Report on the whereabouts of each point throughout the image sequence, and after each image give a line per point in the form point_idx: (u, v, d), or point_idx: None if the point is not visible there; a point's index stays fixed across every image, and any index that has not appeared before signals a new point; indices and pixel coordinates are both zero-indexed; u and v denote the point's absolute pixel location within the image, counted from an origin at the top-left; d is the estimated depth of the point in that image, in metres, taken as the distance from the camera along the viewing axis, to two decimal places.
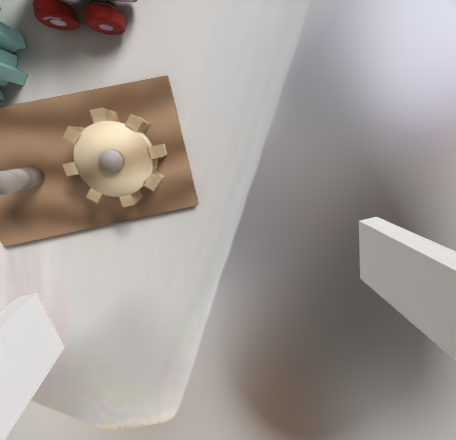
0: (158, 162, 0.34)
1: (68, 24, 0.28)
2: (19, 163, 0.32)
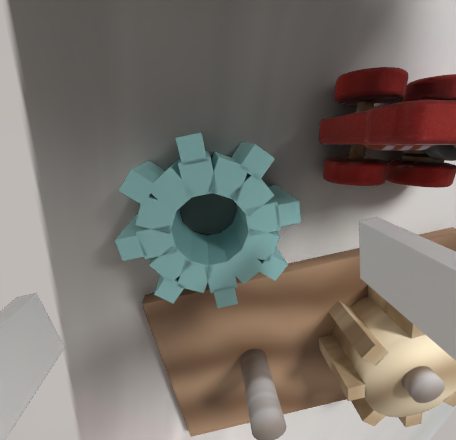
0: None
1: None
2: (237, 346, 0.23)
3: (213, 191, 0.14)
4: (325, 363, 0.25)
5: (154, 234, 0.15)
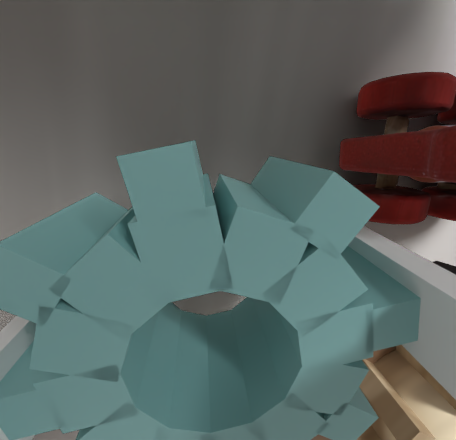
0: None
1: None
2: None
3: (222, 287, 0.06)
4: None
5: (79, 384, 0.06)
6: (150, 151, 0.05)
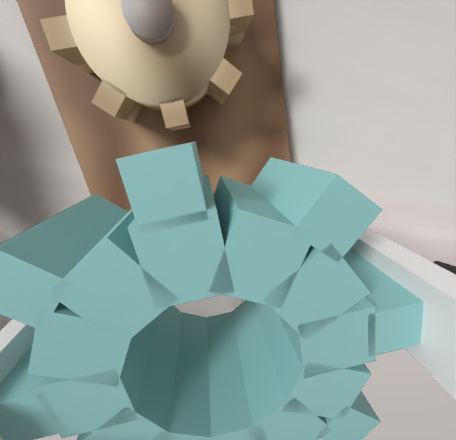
0: None
1: None
2: None
3: (223, 290, 0.06)
4: (214, 116, 0.20)
5: (79, 389, 0.06)
6: (150, 153, 0.05)
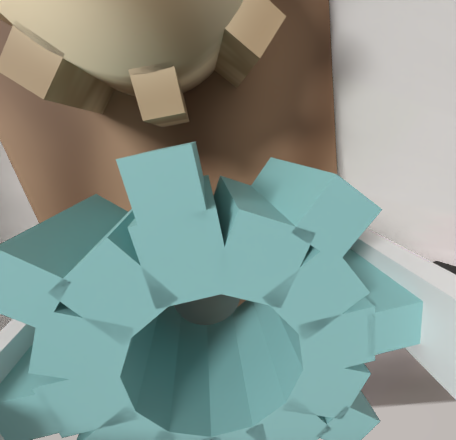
0: None
1: None
2: None
3: (223, 290, 0.06)
4: (225, 105, 0.13)
5: (79, 388, 0.06)
6: (150, 154, 0.05)
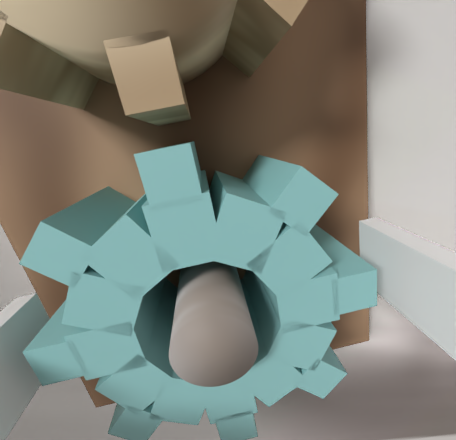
0: None
1: None
2: (177, 284, 0.13)
3: (215, 258, 0.07)
4: (235, 98, 0.11)
5: (100, 338, 0.08)
6: (159, 150, 0.06)
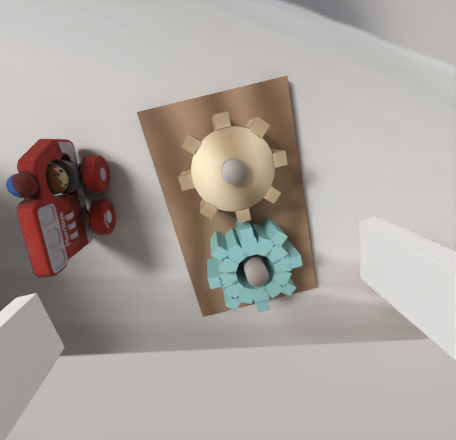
0: None
1: (108, 208, 0.30)
2: None
3: (257, 253, 0.28)
4: (258, 200, 0.32)
5: (227, 275, 0.29)
6: (245, 229, 0.27)
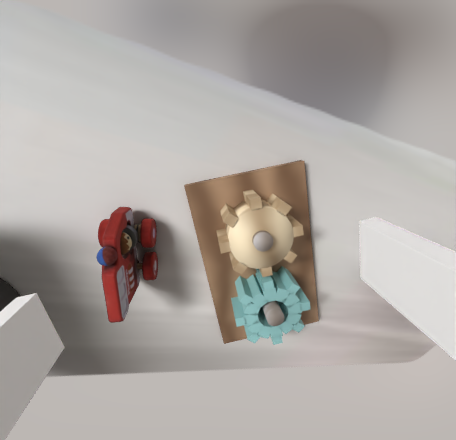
0: None
1: (155, 259, 0.36)
2: None
3: (275, 299, 0.36)
4: None
5: (250, 316, 0.36)
6: (267, 281, 0.35)
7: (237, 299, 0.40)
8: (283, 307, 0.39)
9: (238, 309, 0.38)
